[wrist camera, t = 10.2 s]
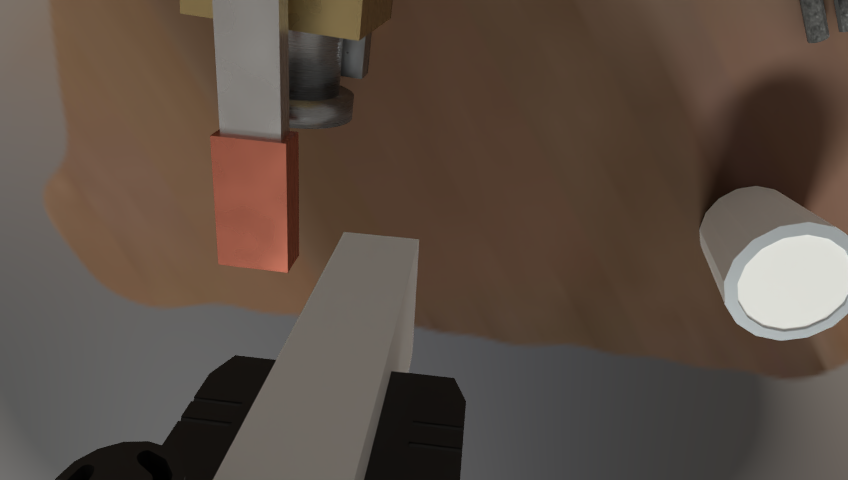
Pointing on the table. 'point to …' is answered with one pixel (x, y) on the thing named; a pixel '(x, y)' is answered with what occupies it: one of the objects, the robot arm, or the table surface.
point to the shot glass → (776, 263)
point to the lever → (254, 137)
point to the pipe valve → (322, 54)
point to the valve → (822, 18)
